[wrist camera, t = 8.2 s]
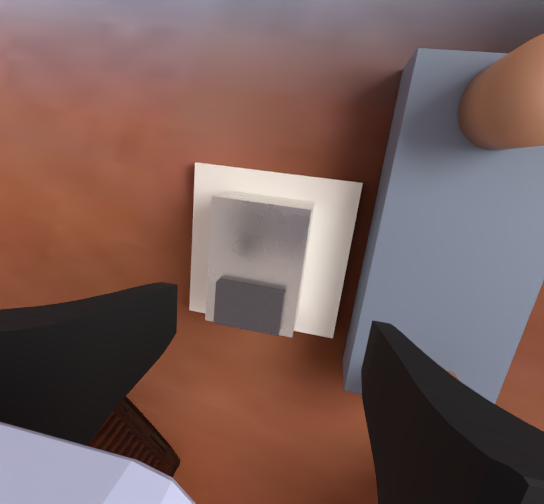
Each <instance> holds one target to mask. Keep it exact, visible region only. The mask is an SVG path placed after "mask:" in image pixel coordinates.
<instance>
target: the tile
mask: <svg viewBox="0 0 544 504" xmlns="http://www.w3.org/2000/svg"><path fill="white" fill-rule="evenodd" d="M362 185H363V183H361V182H353V181H345V180H337V179H329V178H321V177H313V176H305V175H297V174H288V173H280V172H272V171H264V170H256V169H248V168H240V167H232V166H224V165H215V164H207V163H196V162H195V178H194V204H193V229H192V254H191V280H190V305H189V310H191V311H196V312H201V313H206V296H207V278H208V260H209V242H210V224H211V207H212V196H214V195H218V194H222V193H227V192H231V191H238V192H245V193H253V194H260V195H268V196H275V197H282V198H290V199H297V200H305V201H312V202H315V205H314V212H313V218H312V225H311V232H310V238H309V245H308V251H307V258H306V265H305V271H304V278H303V284H302V291H301V298H300V304H299V310H298V315H297V319H296V323H295V328H294V331H297V332H302V333H307V334H312V335H317V336H322V337H328V338H333V335H334V330H335V324H336V319H337V314H338V309H339V304H340V299H341V293H342V288H343V283H344V278H345V273H346V268H347V262H348V257H349V252H350V247H351V242H352V236H353V231H354V226H355V221H356V216H357V211H358V205H359V200H360V195H361V190H362Z"/></svg>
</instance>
